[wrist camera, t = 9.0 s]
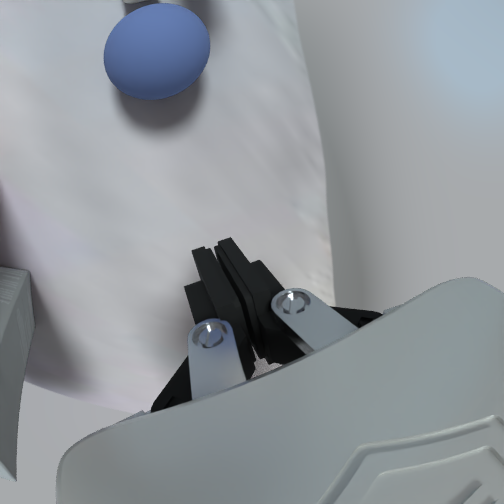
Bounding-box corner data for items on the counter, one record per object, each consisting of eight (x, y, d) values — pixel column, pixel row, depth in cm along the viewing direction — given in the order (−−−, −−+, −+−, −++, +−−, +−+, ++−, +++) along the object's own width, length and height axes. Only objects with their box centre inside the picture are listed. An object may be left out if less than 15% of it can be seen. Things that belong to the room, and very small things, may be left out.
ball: (201, -22, 10) (195, 40, 16) (93, 2, 9) (111, 61, 15) (229, 41, 10) (216, 104, 16) (93, 74, 9) (121, 130, 15)
